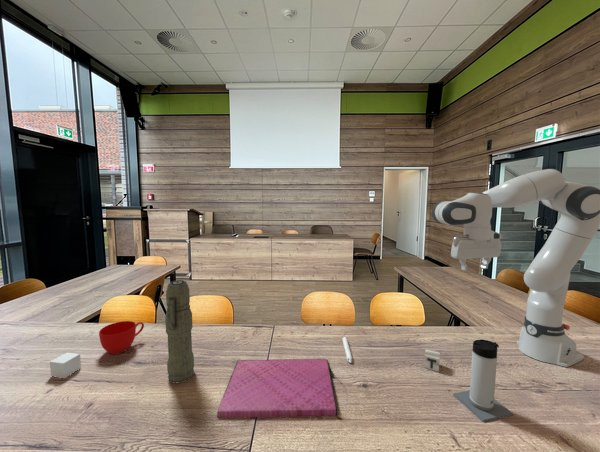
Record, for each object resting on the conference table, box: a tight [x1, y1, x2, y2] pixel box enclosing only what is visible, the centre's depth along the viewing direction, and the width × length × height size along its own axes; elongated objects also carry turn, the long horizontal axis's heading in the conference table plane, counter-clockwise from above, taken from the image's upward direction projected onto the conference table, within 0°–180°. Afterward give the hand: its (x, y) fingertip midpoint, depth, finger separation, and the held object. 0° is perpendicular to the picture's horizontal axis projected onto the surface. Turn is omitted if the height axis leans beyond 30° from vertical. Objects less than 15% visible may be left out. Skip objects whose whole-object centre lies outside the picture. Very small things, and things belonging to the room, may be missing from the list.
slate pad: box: [452, 389, 514, 423], centre depth 83 cm, size 11×11×1 cm
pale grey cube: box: [49, 352, 82, 379], centre depth 99 cm, size 6×6×6 cm
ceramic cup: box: [98, 320, 145, 355], centre depth 115 cm, size 13×17×10 cm
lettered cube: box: [423, 349, 441, 373], centre depth 103 cm, size 5×5×5 cm
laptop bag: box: [216, 358, 349, 418], centre depth 92 cm, size 40×4×27 cm
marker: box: [342, 336, 353, 364], centre depth 113 cm, size 18×2×2 cm, turn 178°
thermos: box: [164, 279, 195, 384], centre depth 96 cm, size 9×12×35 cm
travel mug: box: [469, 339, 500, 411], centre depth 82 cm, size 6×7×20 cm
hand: (474, 269), depth 105 cm, fingers open, 8 cm apart
